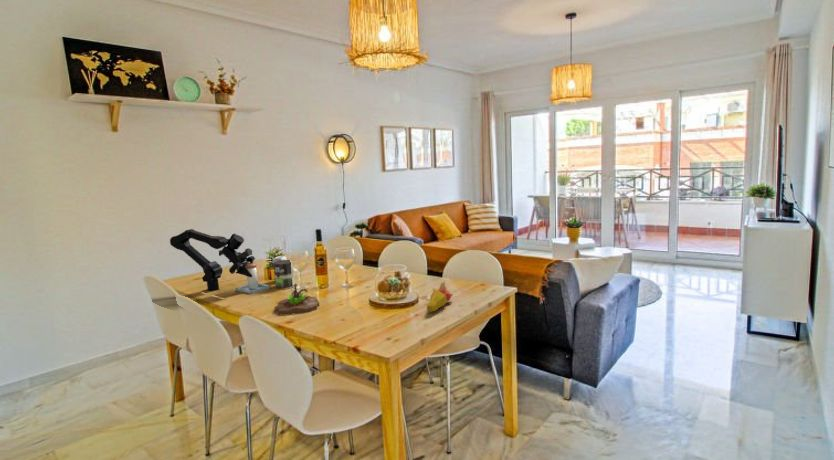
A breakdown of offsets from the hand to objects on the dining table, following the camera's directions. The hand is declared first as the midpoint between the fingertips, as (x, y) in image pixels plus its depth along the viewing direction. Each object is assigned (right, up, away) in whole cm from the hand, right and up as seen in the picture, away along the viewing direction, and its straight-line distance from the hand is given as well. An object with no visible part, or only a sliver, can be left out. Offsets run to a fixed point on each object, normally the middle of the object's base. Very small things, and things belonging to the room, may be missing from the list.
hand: (254, 275), depth 246 cm
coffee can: (+15, -7, +6) cm, 17 cm away
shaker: (-1, -7, +1) cm, 7 cm away
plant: (+31, -12, -30) cm, 45 cm away
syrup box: (+10, -6, +17) cm, 20 cm away
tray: (-1, -8, +1) cm, 9 cm away
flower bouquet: (+96, -10, -39) cm, 104 cm away
